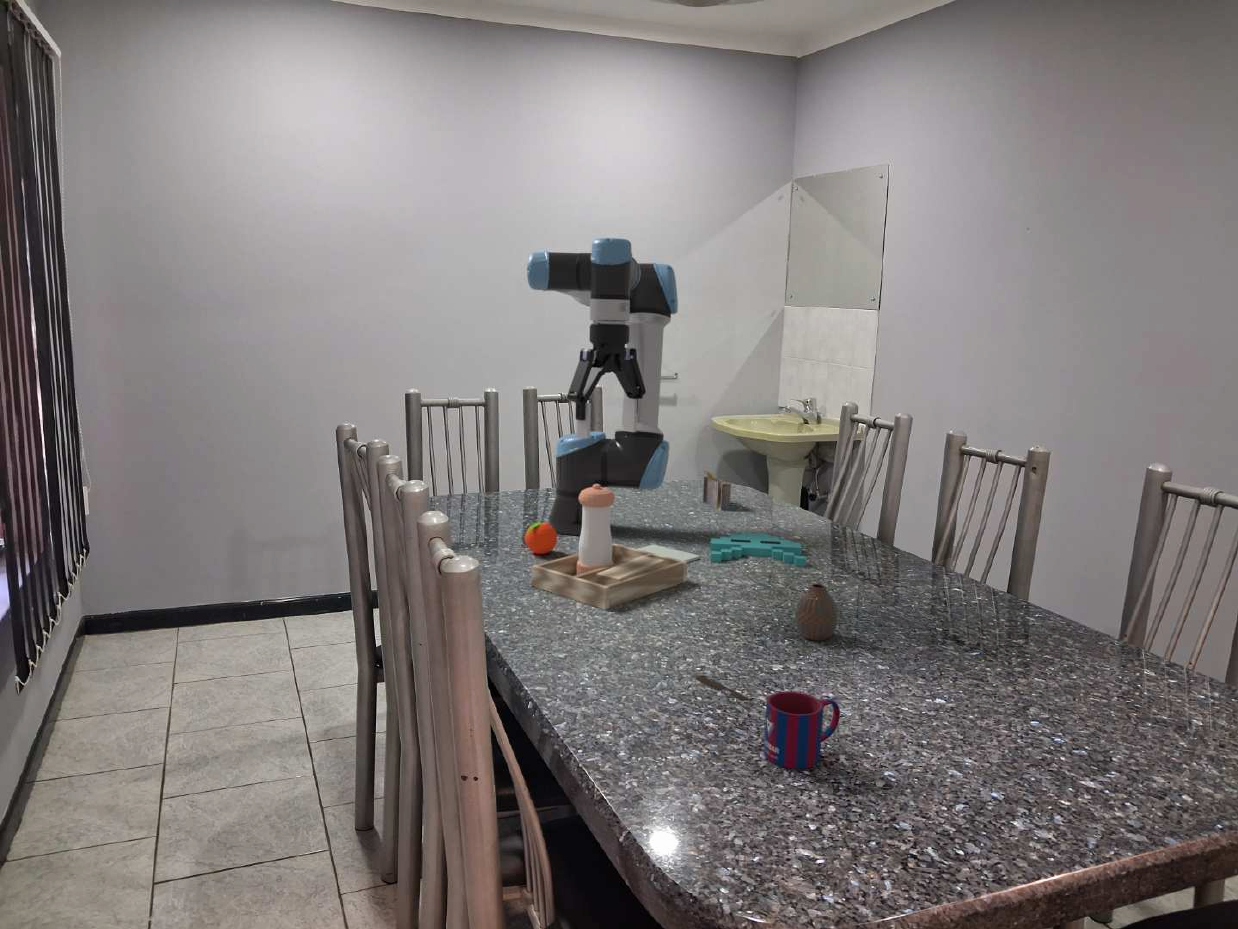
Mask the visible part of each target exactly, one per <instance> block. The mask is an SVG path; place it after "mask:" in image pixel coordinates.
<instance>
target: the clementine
mask: <svg viewBox="0 0 1238 929" xmlns="http://www.w3.org/2000/svg"><path fill="white" fill-rule="evenodd" d="M524 540H525V544H526V547H527V548H528V549H529V550H530V551H531V552H532V553H535V554H537V555H545V554H548V553H549V552H552V551H553V550H554V548H555V547H556V544H557V542H558V533H557V532H556V531H555V529H554V528H553V527H552V526H551V525H550V524H548V522H543V521H539V522H534V523H533V524H532V525H530V526H529V527H528V529H527V530H526V533H525V536H524Z"/></svg>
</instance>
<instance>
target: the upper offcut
mask: <svg viewBox="0 0 1238 929" xmlns="http://www.w3.org/2000/svg"><path fill="white" fill-rule="evenodd" d="M662 567H664V560H662V559H657V558H652V557H647V556H640V557H638V558H635V559H633V560H630V561H628V562H625V563H623V564H620V565H618V566H615V567H612V568H610V569H607V570H605V571H602V572H600V573H597V574H596V583H598V584H601V585H604V586H606V585H609V584H612V583H615V582H618V581H621V580H625V579H628V578H631V577H634V576H637V575H640V574H643V573H646V572H650V571H653V570H656V569H659V568H662Z"/></svg>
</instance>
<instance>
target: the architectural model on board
mask: <svg viewBox="0 0 1238 929" xmlns="http://www.w3.org/2000/svg"><path fill="white" fill-rule="evenodd" d="M702 471H703V473H704V474H706V476H703V487H702V488H703V489H702V492H703V493H702V503H705V504H706V503H707V504H706V505H708V504H709V505H708V506H710V505H711V506H710V507H711V508H715V509H716V510H718V509H721V511H720V512H723V511H722V510H729V511H730V508H731V487H732V484H731V483H729V482H727V481H724V480H722V479H719V478H717V477H715V476H714V475H713V473H711V472H709V471H707V470H705V469H703V470H702Z"/></svg>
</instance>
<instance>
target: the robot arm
mask: <svg viewBox="0 0 1238 929" xmlns="http://www.w3.org/2000/svg"><path fill="white" fill-rule="evenodd" d="M526 266H527V267H526V276H527V277H526V278H527V282H528V285H529V288H530V289H531V290H533V291H534V290H535V291H543V292H551V291H552V292H558V293H561V294H564V295H568V296H569V297H571V298H573V299H574V301H576V302H577V303H578V304H581V305H583V306H586V307H589V320H590V321H592V323H590V325H589V342H590V344H592V349H591V348H580V351H579V359H578V364H577V366H576V369H575V371H574V374H573V375H574V376H573V378H572V381H571V384H570V386H569V389H568V392H567V399H568V400H570V401H571V402H572V403H575V420H576V432H575V433H574V432H573V433H570V434H567V435H563V436H561V437H560V438H559V439H558V440H557V442H556V452H555V498H554V502H553V504H552V508H551V512H550V515H549V516H548V520H547V523H548V524H550V525H551V526H552V527H553V528H554V529H555V531H556V533H557V534H562V535H569V534H570V535H571V536H580V535H581V530H582V509H583V505H581V504H580V502H579V499H578V498H579V495H580V493H581V491H582V490H584V489H587V488H590V487H593V485H594V484H599V485H601V487H602V488H613V489H631V490H640V491H643V490H657V489H659V488H660V487H661V486H662V484H663V482H664V479H665V476H666V472H667V467H668V462H669V456H670V454H669V453H670V443H669V441H667V440H664V437H665V436H664V434H665V433H664V432H663V431H662V430H661V429H660V428H659V414H660V412H659V411H660V398H661V397H660V395H661V394H660V393H661V377H662V365H663V364H662V362H663V361H662V360H663V346H664V330H665V327H666V326H667V325H669V324H670V323H671V320H672V315H675V314H678V311H679V309H678V307H679V305H678V302H679V300H678V299H679V298H678V288H677V281H676V280H677V279H676V274H675V270H674V268H673V267H672V266H671V265H669V264H664V263H656V262H653V263H652V262H650V263H645V262H644V263H638V261H637V260H636V259H635V258H634V257H633V253H632V243H631V241H630V240H629V239H626V238H616V237H615V238H613V237H609V238H608V237H606V238H605V237H604V238H602V237H601V238H595V239H594V240H593V241H592V243H591V252H552V251H551V252H549V251H544V252H543V251H541V252H540V251H539V252H538V251H537V252H533V253H531V254H530V255H529V256H528V259H527V265H526ZM606 373H607V374H609V373H613V374H615V376H616V379H617V380H618V382H619V385H620V386H621V388H622V389H623V403H622V404H623V405H622V416H621V417H622V418H621V419H622V420H621V424H620V425H619V427H618V428H616V429H615V431H614V438H607V435H606V433H605V432H604V431H598V430H596V431H591V413H592V412H591V409H592V404H591V402H588V401H589V400H590V398H591V396H592V394H593V393H594V391H595V389H596V387H597V385H598V384H599V382H600V380H601V378H602V377H603V376H605V375H606ZM611 522H612V520H611V519H610V527H611Z"/></svg>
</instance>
